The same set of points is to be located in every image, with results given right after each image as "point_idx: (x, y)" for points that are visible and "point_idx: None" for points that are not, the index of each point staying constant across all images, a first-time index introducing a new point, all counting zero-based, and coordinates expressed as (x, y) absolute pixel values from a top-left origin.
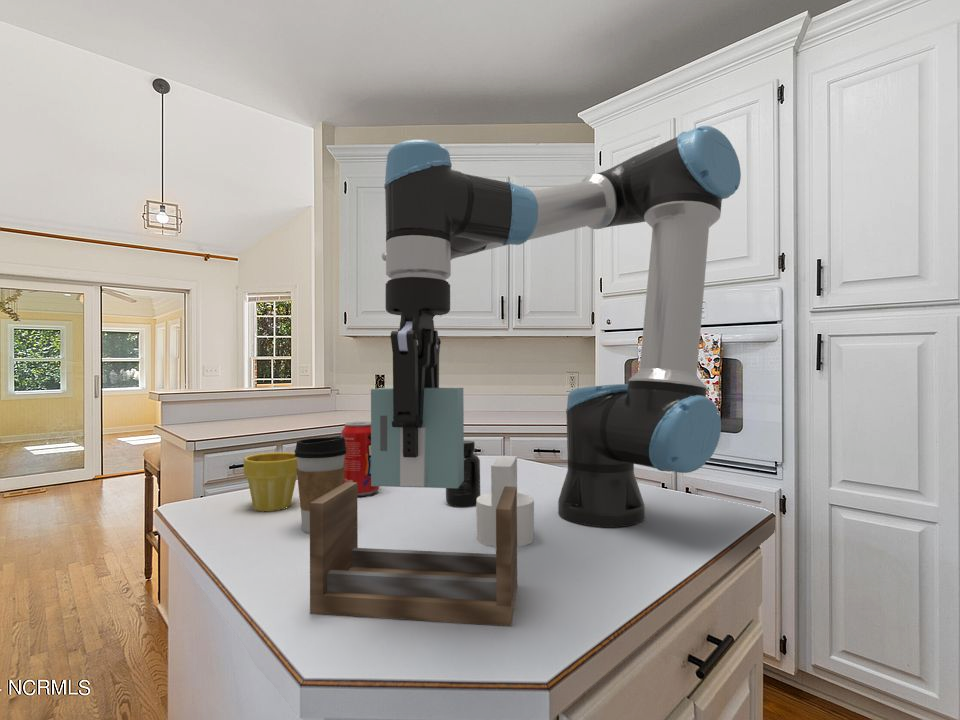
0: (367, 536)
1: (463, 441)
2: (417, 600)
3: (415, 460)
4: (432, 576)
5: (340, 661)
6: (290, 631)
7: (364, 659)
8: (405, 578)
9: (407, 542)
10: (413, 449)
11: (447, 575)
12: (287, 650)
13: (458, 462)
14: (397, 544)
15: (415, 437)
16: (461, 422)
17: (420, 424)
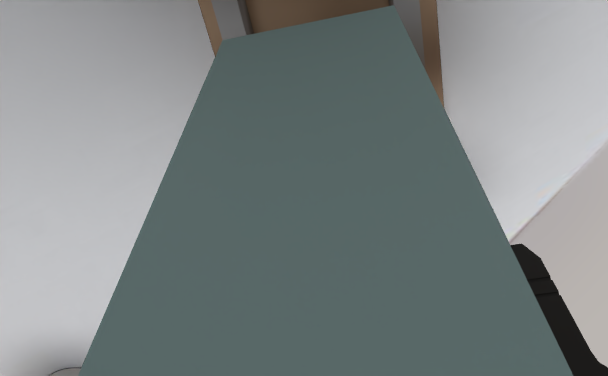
0: (69, 300)
1: (188, 131)
2: (434, 13)
3: None
4: (403, 2)
5: (600, 69)
6: (510, 200)
7: (591, 30)
8: (424, 66)
9: (47, 211)
10: (546, 279)
11: (272, 1)
12: (570, 169)
13: (385, 51)
14: (72, 225)
15: (573, 322)
16: (257, 201)
17: (596, 373)
